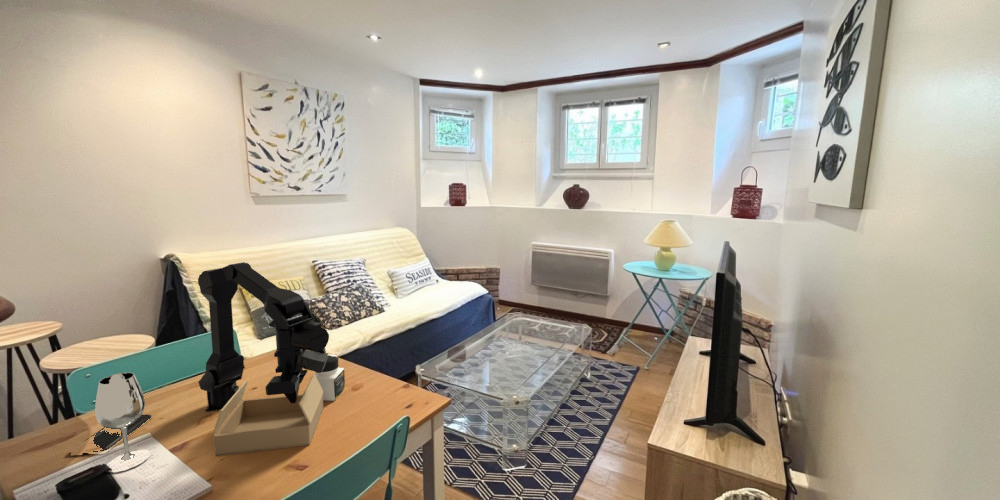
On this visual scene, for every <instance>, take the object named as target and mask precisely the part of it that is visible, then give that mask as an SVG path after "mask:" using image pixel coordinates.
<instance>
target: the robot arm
mask: <svg viewBox="0 0 1000 500" xmlns="http://www.w3.org/2000/svg"><path fill="white" fill-rule="evenodd" d="M197 284H198V286H199V290H200V294H201V295H202V296H203V297H204V298H205V299H206V300H207V301H208V308H209V319H210V321H209V322H210V334H211V336H210V337H211V348H212V349H211V350H212V353H211V354H210V356H209V357H208V359H207V361H206V363H205V373H204V374H203V375H202V376H201V378H200V379H199V381H198V385H199V389H200V390H202V391H205V392H206V398H207V407H206V408H205V410H204V411H205V412H213V411H214V412H215V411H221V409H222V408H223V407H224V406H225V405H226V403H227V402H228V401H229V400H230V399H231V398H232V396H233V395H234V394H235V393H236V392H237V390H238V389H239V388H240V387H239V385H237V381H240V380H242V379H243V373H244V370H245V368H246V366H245V364H244V363H245V362H244V361H245V360H244V359H245V357H244V355H242V354H239V353H238V351H236V350H235V337H234V336H235V335H234V321H233V320H234V319H233V306H232V305H233V304H232V300H233V298H234V296H235V295H236V293H237V291H238V290H239V288H238V287H239V286H240V287H242V289H244V290H245V291H246V292H248V293H249V294H250V295H252V296H253V297H254V298H256V299H257V300H259V301H260V302H261V303H262V304H263V309H264V312H265V313H266V314H267V315H268V316H269V317H270V318H271V319H272V321H271V322H270V323H269V324H268V326H269V327H270V328H274V330H275V331H274V332H275V342H276V343H275V344H276V351H274V353H273V354H274V355H273V357H274V358H277V359H276V360H277V366H276V368H275V369H274V370H275V374H279V373H281V374H280V375H274V376H273V377H272V378H271V379H270V380H269V381H268V382H267V384H266V386H265V395H266V396H275V395H276V396H277V395H283V396H286V397H287V399H288V400H289V401H290V403H296V401H297V396H298V395H299V390H300V384H302V382H303V380H304V379H305V376H306V375H307V373H308V372H309V371H311V372H315V373H321V372H322V371H323V369H324V367H325V364H326V361H327V358H328V355H329V353H328V352H327V350H326V347H327V345H328V344H329V343H328V342H329V339H330V334H329V332H328V330H327V328H324V327H322V323H321V322H316V321H314V320H315V316H314V315H313V312H312V310H311V309H310V308H309V307H308V304H307V303H306V301H305V299H304V298H303V296H302V295H300V294H299V293H297V292H295V291H293V290H291V289H286V288H281V287H278V286H277V285H276V284H274V283H273V282H271V281H270V280H269V279H267V278H266V277H264V275H262V274H260V273H259V272H257V271H256V270H255V269H253V268H252V266H251V265H250V264H249V262H245V261H243V262H238V263H229V264H228V265H226V266H224V267H221V268H219V267H218V268H214V269H208V270H204V271H202V272H201V274H199V275H198V278H197ZM292 318H293V319H292ZM313 321H314V322H313Z"/></svg>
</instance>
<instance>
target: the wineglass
mask: <svg viewBox="0 0 1000 500" xmlns="http://www.w3.org/2000/svg"><path fill="white" fill-rule="evenodd" d="M145 408H146V399H145V395H144V392H143V390H142V387H141V385H140V383H139V380H138V379H137V377H136V375H135V373H134V372H130V371H129V372H128V371H127V372H120V373H115V374H111V375H109V376H105V377H103V378H102V379H100V380H99V381H98V386H97V392H96V399H95V405H94V409H95V411H94V412H95V413H94V415H95V418H96V421H97V422H98V423H99V425H100V426H103V428H104V427H106V428H111V429H120V430H121V432H122V436H123V441H122V442H123V449H124V453H123V454H124V456H123V457H122V458H121V460H124V461H126V460H129V459H131V458H134V456H135V454H131V453H130V451H131V450H130V449H129V441H128V440H129V439H128V437H127V427H128V426H129V425H131V424H132V423H134V422H135V421H136V420H137V419H138V418H139V417H140V416H141V415H143V413H144V411H145Z"/></svg>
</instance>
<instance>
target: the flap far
mask: <svg viewBox="0 0 1000 500" xmlns="http://www.w3.org/2000/svg"><path fill="white" fill-rule="evenodd" d="M311 377H312V378H311ZM311 377H310V379H309V382H308V384H307V385H306V388H305V389H304V392H303V395H302V397H301V399H300V401H299V403H298V404H299V406H300V407H301V409H302V411H303V413H304V415H305V417H306V419H307V421H308V423H309V424H311V422H312V419H313V417H314V414H315V412H316V409H317V407H318V404H319V402H320V400H321V397H322V395H323V390H322V388H321V385H320V383H319V381H318V379H317V377H316V375H315V373H313V374H312V376H311Z"/></svg>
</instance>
